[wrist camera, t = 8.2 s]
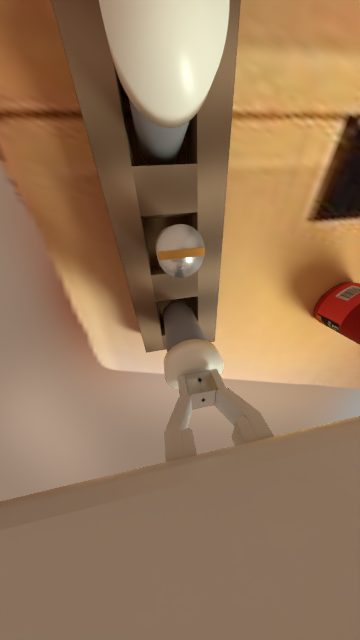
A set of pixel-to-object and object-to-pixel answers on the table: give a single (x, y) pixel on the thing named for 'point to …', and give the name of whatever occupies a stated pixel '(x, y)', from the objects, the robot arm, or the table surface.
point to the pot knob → (180, 250)
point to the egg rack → (154, 169)
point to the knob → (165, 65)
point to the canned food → (341, 310)
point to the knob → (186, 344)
